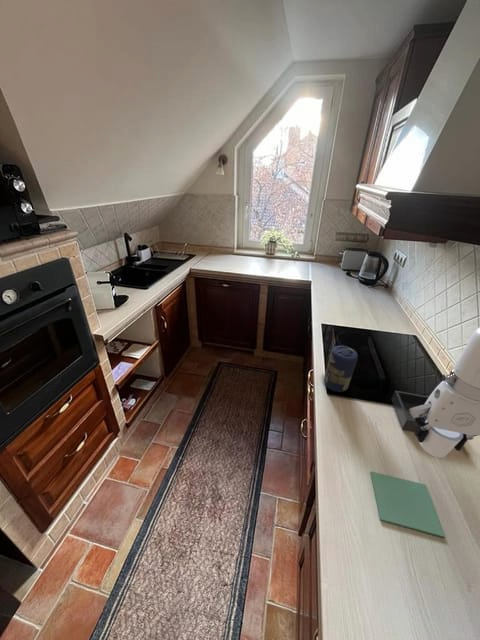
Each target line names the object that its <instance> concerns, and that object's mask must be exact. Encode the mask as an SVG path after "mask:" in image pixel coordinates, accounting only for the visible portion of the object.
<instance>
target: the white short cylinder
mask: <svg viewBox="0 0 480 640" xmlns="http://www.w3.org/2000/svg"><path fill="white" fill-rule="evenodd" d="M427 422H428V421H427V420H426V422H425V423H427ZM428 432H429V433H428V435H427V436H426V438H425V440H424V441H423V442H422V443H421V442H419V441H418V443H419V445H420V447H421V448H422V449H423V450H424V451H425V452H426V453H428V454H429V455H431V456H433V457H435V458H441V459H442V458H445V457H446V456H447V455H448V454H449V453H450V452H451V451H452V450H453V449H455V448H454V447H455V446H456V445H457V444H458V443H459V442H460V440H461V439H462V438H463V433H458V432H453V431H448V430H443V429H439V428H435V427H431V428H429V429H428Z"/></svg>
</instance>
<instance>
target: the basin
mask: <svg viewBox="0 0 480 640" xmlns="http://www.w3.org/2000/svg"><path fill="white" fill-rule="evenodd" d="M429 396H430V395H429ZM429 396H428V395H423V394H417V393H412V392H405V391H400V390H394V392H393V395H392V397H391V400H392V401H391V400H390V401H391V403H392V402H393V403H392V407H393V408H394V411H395V414H396V417H397V420H398V423H399V425H400V428H401V430H404V431H408V432H412V433H414V430H415V428H416V426H417V422H416V421H415V419H414V418H413V416H412V415H411V413H410V411H409V409H410V408H413V407H417V406H420V405H424V404H425V403H426V401H427V399H428V398H429ZM423 414H425V413H423ZM423 414H420V416H422V415H423ZM425 422H426V421H425Z"/></svg>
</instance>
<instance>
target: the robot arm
mask: <svg viewBox="0 0 480 640" xmlns="http://www.w3.org/2000/svg"><path fill="white" fill-rule="evenodd" d="M409 411H410V413H411V415H412V416H413V418H414V419H415V421H416V422H417V426H416V428H415V430H414V432H413V433H414V435H415V436H416V438H417V441H418V443H419V442H421V443H422V442H423V441H424V440H425V438H426V436H427V435H428V433H429V432H428V429H429V428H431V427H435V428H439V429H443V430H448V431H453V432H458V433H463V438H462V439H461V440H460V442H459V443H458V444H457V445H456V446H455V447H454V448H453V449H454V450H456V451H459V452H460V451H461V450H462V448H463V447H464V446H465V444H466V443H467V442H468V441H472V440H473V439H474V437H477V436H480V327H477V328H476V329H475V330H474V331H473V333H472V334H471V336H470V337H469V339H468V342H466V344H465V347H464V348H463V350H462V352H461V354H460V355H459V357H458V358H457V360H456V362H455V365H454V366H453V368H452V369H451V371H450V372H449V374H443V375H442V376H441V382H439V384H438V385H437V386H435V388H434V390H433V391H432V392H431V393H430V394H429V398H428V399H427V401H426V403H425V404H424V405H420V406H417V407H413V408H410V409H409ZM423 413H425V414H423ZM420 414H423V415H422V416H420ZM426 420H427V421H428V422H427V423H425V421H426Z"/></svg>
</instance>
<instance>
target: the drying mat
mask: <svg viewBox="0 0 480 640" xmlns="http://www.w3.org/2000/svg"><path fill="white" fill-rule="evenodd" d="M370 478H371V481H372V488H373V493H374V497H375V502H376V507H377V512H378V516H379V517H378V518H379V521H381V522H385V523H388V524H392V525H395V526H400V527H403V528H406V529H410V530H413V531H417V532H421V533H424V534H428V535H432V536H436V537H440V538H443V539H445V538H446V535H445V532H444V529H443V527H442V524H441V522H440V519H439V516H438V513H437V510H436V508H435V505H434V503H433V501H432V498H431V495H430V492H429V489H428V487H427V485H426V484H424V483H421V482H418V481H417V482H416V481H413V480H409V479H404V478H400V477H397V476H393V475H388V474H384V473H380V472H375V471H370Z"/></svg>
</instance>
